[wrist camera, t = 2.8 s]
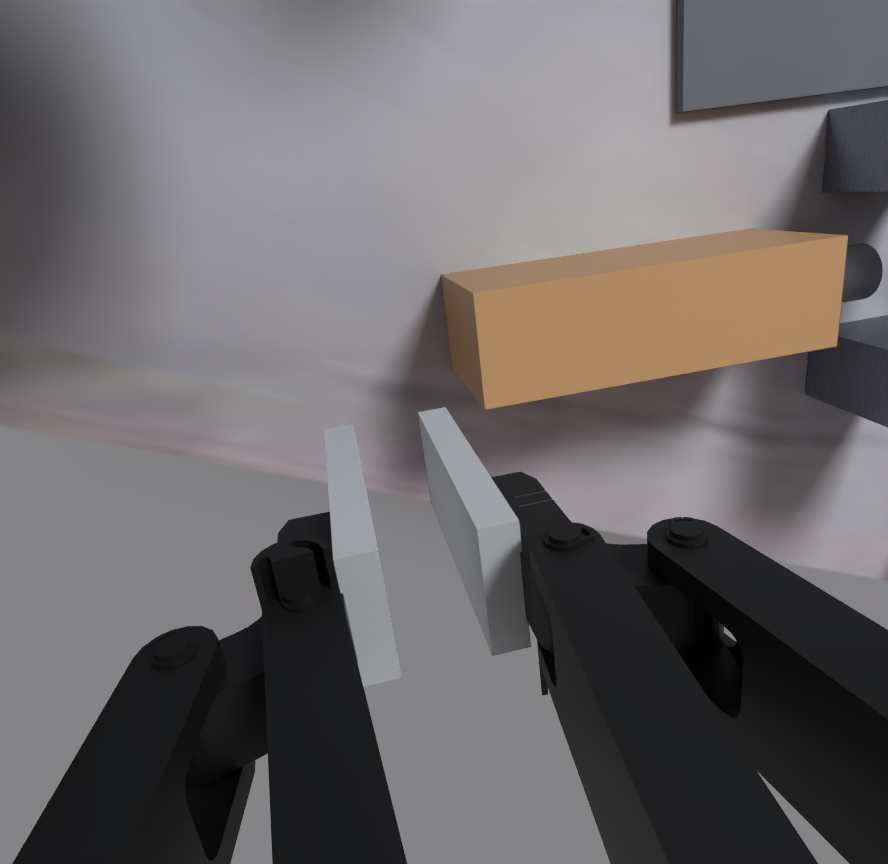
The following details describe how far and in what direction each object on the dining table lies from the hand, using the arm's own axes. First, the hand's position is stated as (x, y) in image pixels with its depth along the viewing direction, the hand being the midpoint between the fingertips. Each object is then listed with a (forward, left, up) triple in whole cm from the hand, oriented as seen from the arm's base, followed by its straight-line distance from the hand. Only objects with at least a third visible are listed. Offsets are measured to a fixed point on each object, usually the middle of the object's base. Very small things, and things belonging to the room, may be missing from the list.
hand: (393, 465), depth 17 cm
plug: (+15, 0, -17) cm, 23 cm away
